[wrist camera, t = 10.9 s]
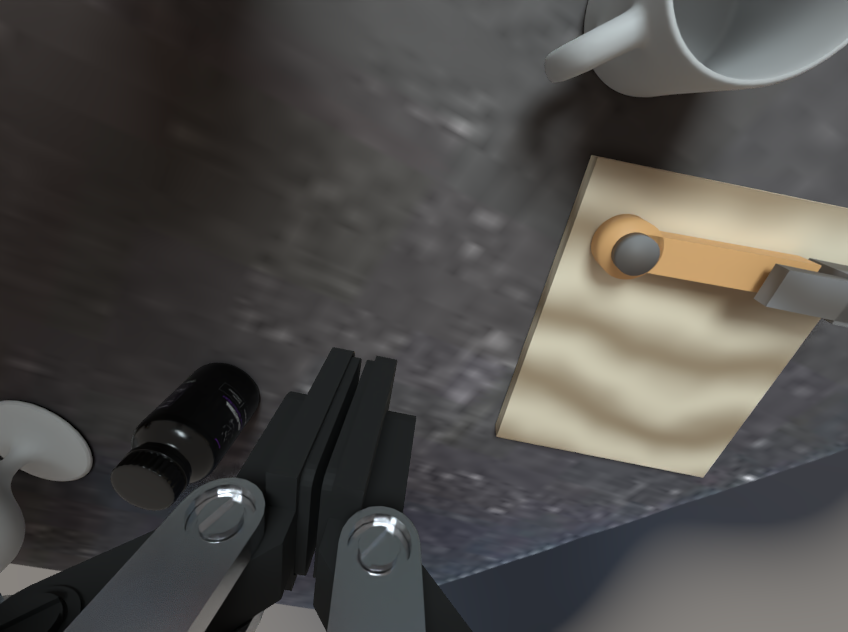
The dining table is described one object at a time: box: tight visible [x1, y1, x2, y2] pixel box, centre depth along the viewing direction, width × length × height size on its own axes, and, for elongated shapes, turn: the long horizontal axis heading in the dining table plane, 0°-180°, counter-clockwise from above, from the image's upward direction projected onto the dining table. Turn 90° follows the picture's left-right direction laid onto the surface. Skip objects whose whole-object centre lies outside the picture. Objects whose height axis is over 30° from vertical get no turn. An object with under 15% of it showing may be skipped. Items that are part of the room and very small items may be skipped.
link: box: [591, 214, 822, 293], centre depth 27 cm, size 14×4×2 cm, turn 81°
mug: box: [544, 0, 848, 97], centre depth 19 cm, size 12×8×11 cm
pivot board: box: [495, 155, 848, 477], centre depth 31 cm, size 25×20×6 cm
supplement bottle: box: [110, 363, 259, 510], centre depth 34 cm, size 7×7×12 cm
